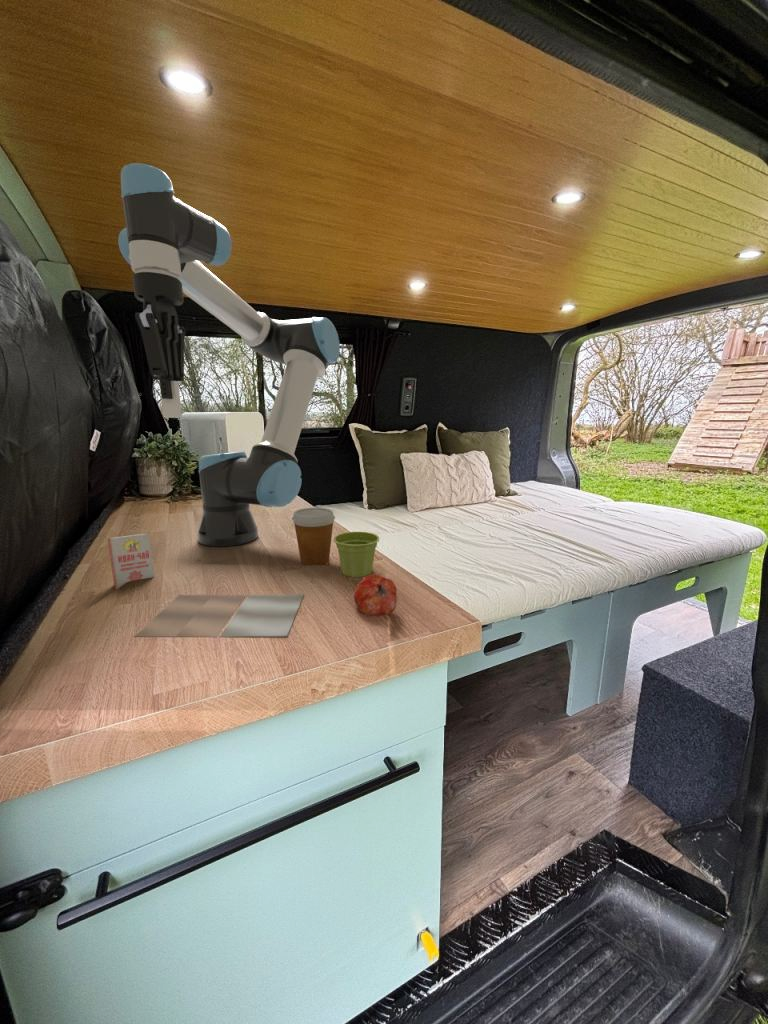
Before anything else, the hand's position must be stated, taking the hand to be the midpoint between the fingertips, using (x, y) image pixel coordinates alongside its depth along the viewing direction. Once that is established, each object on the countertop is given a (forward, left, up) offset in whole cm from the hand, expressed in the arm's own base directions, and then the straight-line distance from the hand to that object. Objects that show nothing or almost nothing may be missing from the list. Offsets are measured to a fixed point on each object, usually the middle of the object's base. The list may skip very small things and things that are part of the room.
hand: (172, 417), depth 75 cm
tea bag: (+2, -10, -33) cm, 34 cm away
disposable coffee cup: (-10, +24, -33) cm, 42 cm away
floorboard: (+17, +9, -32) cm, 38 cm away
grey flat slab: (+17, +20, -32) cm, 42 cm away
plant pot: (-2, +34, -33) cm, 47 cm away
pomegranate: (+14, +38, -33) cm, 52 cm away
